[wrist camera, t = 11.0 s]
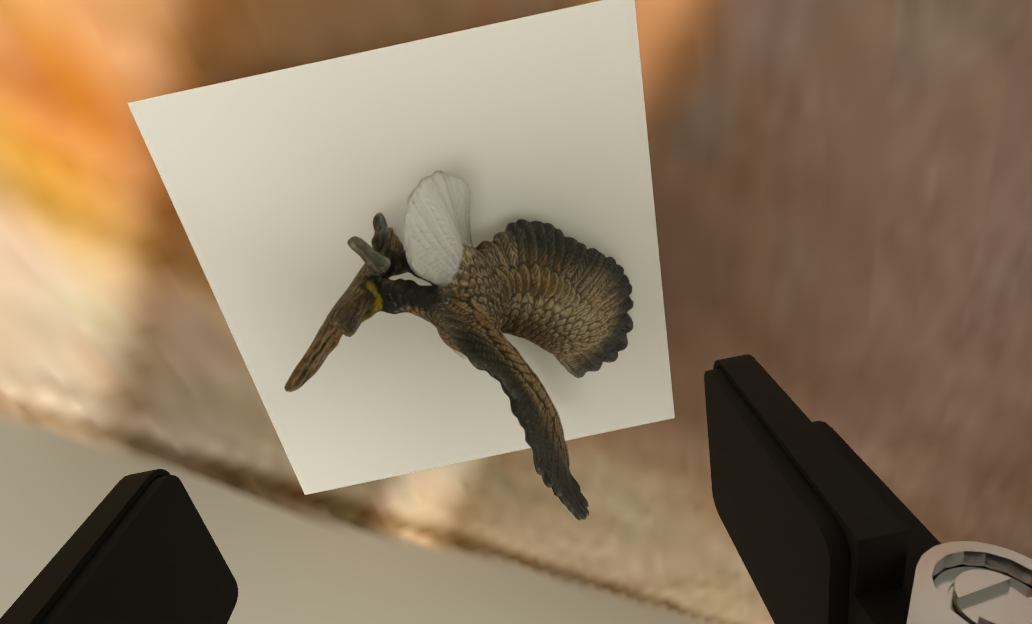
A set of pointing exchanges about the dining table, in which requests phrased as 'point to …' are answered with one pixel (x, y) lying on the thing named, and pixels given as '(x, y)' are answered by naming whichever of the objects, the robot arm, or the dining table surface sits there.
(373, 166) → the stand
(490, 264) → the eagle figurine
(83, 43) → the dining table surface
